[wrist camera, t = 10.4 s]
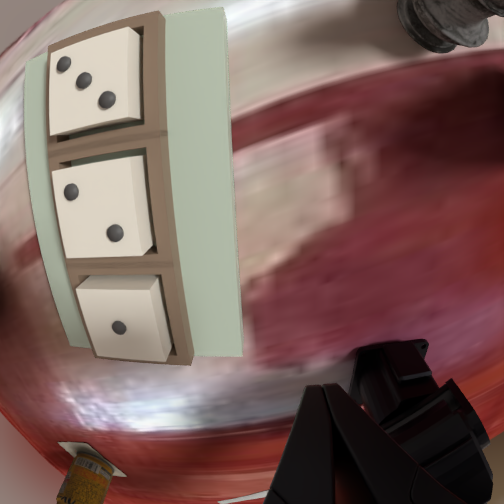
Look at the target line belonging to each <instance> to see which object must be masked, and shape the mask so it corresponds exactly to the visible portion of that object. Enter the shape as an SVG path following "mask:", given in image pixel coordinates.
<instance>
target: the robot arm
mask: <svg viewBox="0 0 504 504" xmlns="http://www.w3.org/2000/svg"><path fill="white" fill-rule="evenodd" d="M423 344H424V345H423ZM422 345H423V346H422ZM428 346H429V343H428V342H427V340H426V339H421V340H414V341H407V342H401V343H393V344H386V345H377V346H369V347H362V348H360V349H359V350H358V351H357V355H356V360H355V365H354V370H353V375H352V380H351V385H350V389H349V394H347V393H346V392H345V391H344V390H343V389H342V388H341V387H340V386H339V385H338V384H337V383H332V384H323V385H322V386H321V385H308V386H306V387H305V389H304V392H303V395H302V398H301V401H300V404H299V408H298V411H297V414H296V417H295V420H294V423H293V426H292V429H291V432H290V434H289V437H288V440H287V443H286V446H285V449H284V451H283V454H282V457H281V459H280V462H279V465H278V467H277V470H276V473H275V475H274V478H273V480H272V483H271V485H270V489H269V490H268V492H267V495H266V497H265V500H264V502H263V504H487V502H488V501H490V499H491V495H492V488H493V482H492V479H493V474H492V471H491V469H490V467H489V464H488V462H487V460H486V458H485V456H484V453H483V451H482V450H483V449H484V448H486V447H487V446H488V445H490V440H489V437H488V435H487V433H486V430H485V428H484V426H483V424H482V422H481V421H480V419H479V417H478V415H477V414H476V412H475V410H474V409H473V407H472V406H471V404H470V403H469V401H468V400H467V399H466V397H465V396H464V394H463V393H462V392H461V390H460V389H459V388H458V386H457V385H456V384H455V382H454V381H453V379H452V378H451V379H449V380H448V381H447V382H445V383H446V384H444V385H443V386H442V387H440V388H439V387H438V385H437V383H436V382H435V380H434V378H433V377H432V371H431V370H430V368H429V366H428V365H427V363H426V362H425V360H424V358H425V355H426V352H427V349H428ZM362 353H365V354H362ZM358 404H363V405H364V408H365V411H366V412H365V411H364V410H363V409H362V408H361V407H360V406H359V405H358Z"/></svg>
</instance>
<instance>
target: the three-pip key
mask: <svg viewBox="0 0 504 504" xmlns="http://www.w3.org/2000/svg"><path fill="white" fill-rule="evenodd" d="M143 40H144V38H142V37H141V36H140V35H139V34H137V33H136V32H135V31H134V30H132V29H131V28H130V27H125V28H122V29H118V30H115V31H111V32H108V33H104V34H101V35H98V36H95V37H92V38H89V39H86V40H83V41H81V42H78V43H75V44H72V45H70V46H67V47H65V48H62V49H60V50H57V51H55V52H53V53H51V59H50V78H49V124H50V136H53V135H74V134H78V133H82V132H87V131H91V130H95V129H100V128H105V127H109V126H114V125H119V124H125V123H130V122H136V121H142V120H145V118H144V90H143Z"/></svg>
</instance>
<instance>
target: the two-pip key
mask: <svg viewBox="0 0 504 504" xmlns="http://www.w3.org/2000/svg"><path fill="white" fill-rule="evenodd" d="M52 178H53V186H54V194H55V201H56V207H57V213H58V219H59V225H60V230H61V235H62V240H63V245H64V249H65V254H66V258H89V257H121V256H143V255H144V254H145V253H146V252H147V250H148V249H149V248H150V247H151V246H152V245H153V244H154V243H155V242H156V237H155V229H154V222H153V214H152V205H151V196H150V186H149V176H148V165H147V155H141V156H133V157H127V158H120V159H114V160H107V161H101V162H96V163H90V164H85V165H79V166H74V167H69V168H65V169H60V170H56V171H52Z"/></svg>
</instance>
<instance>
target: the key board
mask: <svg viewBox="0 0 504 504" xmlns="http://www.w3.org/2000/svg"><path fill="white" fill-rule="evenodd" d="M125 27H130V28H131V29H132V30H134V31H135V32H136V33H137V34H139V35H140V36H141V37H142V38H144V40H143V90H144V118H145V120H142V121H136V122H130V123H125V124H119V125H114V126H109V127H105V128H100V129H95V130H91V131H87V132H82V133H78V134H74V135H53V136H50V124H49V78H50V59H51V53H53V52H55V51H57V50H60V49H62V48H65V47H67V46H70V45H72V44H75V43H78V42H81V41H83V40H86V39H89V38H92V37H95V36H98V35H101V34H104V33H108V32H111V31H115V30H118V29H122V28H125ZM24 133H25V150H26V163H27V173H28V181H29V189H30V196H31V203H32V209H33V215H34V220H35V226H36V231H37V236H38V240H39V245H40V249H41V254H42V258H43V262H44V266H45V269H46V273H47V277H48V280H49V284H50V287H51V291H52V294H53V297H54V301H55V304H56V307H57V310H58V313H59V316H60V319H61V322H62V324H63V327H64V330H65V333H66V335H67V338H68V341H69V343H70V346H75V347H82V348H91V349H92V351H93V354H94V356H95V358H101V359H110V360H119V361H129V362H140V363H153V364H169V365H190V366H191V364H192V360H193V357H194V356H243V343H244V336H243V322H242V307H241V292H240V277H239V261H238V245H237V229H236V212H235V194H234V175H233V156H232V136H231V115H230V93H229V69H228V43H227V19H226V15H225V12H224V8H223V7H217V8H208V9H200V10H193V11H186V12H180V13H174V14H169V15H164V16H163V15H162V14H161V13H160V12H159V11H154V12H150V13H145V14H141V15H137V16H133V17H129V18H126V19H122V20H118V21H115V22H112V23H108V24H105V25H102V26H99V27H96V28H93V29H90V30H87V31H84V32H82V33H79V34H76V35H74V36H71V37H69V38H66V39H64V40H61V41H59V42H56V43H54V44H52V45H50V46H48V52H46V53H44V54H42V55H39V56H37V57H35V58H33V59H31V60H29V61H27V62H26V67H25V84H24ZM141 155H147V165H148V176H149V186H150V196H151V205H152V214H153V222H154V229H155V237H156V242H155V243H154V244H153V245H152V246H151V247H150V248H149V249H148V250H147V252H146V253H145V254H144V255H143V256H121V257H89V258H66V254H65V249H64V245H63V240H62V235H61V230H60V225H59V219H58V213H57V207H56V201H55V194H54V186H53V178H52V171H56V170H60V169H65V168H69V167H74V166H79V165H85V164H90V163H96V162H101V161H107V160H114V159H120V158H127V157H133V156H141ZM154 274H161V276H162V282H163V288H164V294H165V299H166V305H167V310H168V315H169V320H170V325H171V330H172V335H173V339H174V343H173V345H172V348H171V350H170V353H169V355H168V358H167V360H166V362H159V361H144V360H132V359H122V358H112V357H103V356H97V354H96V351H95V348H94V345H93V343H92V340H91V337H90V334H89V331H88V328H87V325H86V322H85V319H84V316H83V313H82V310H81V306H80V303H79V300H78V296H77V293H76V288H77V287H78V286H79V285H80V284H81V283H83V282H84V281H85V280H86V279H87V278H88V277H89V276H90V275H154Z"/></svg>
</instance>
